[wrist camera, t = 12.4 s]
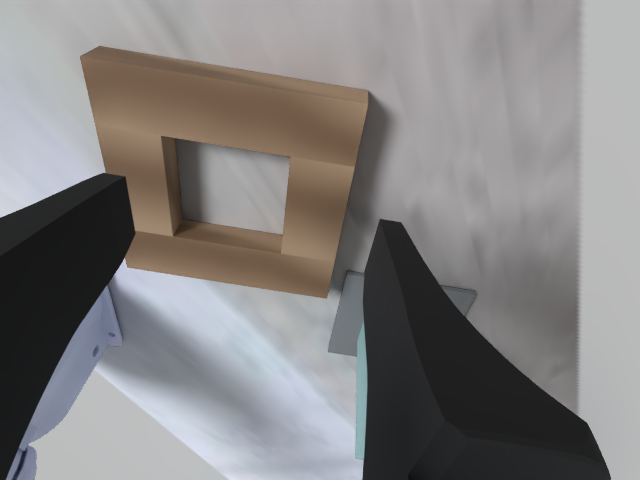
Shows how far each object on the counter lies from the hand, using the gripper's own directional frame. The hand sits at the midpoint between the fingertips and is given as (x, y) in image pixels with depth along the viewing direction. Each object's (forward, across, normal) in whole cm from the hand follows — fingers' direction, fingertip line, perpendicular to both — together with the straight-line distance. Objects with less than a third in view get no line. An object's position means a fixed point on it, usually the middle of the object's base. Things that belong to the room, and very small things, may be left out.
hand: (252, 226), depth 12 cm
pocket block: (+9, +3, +5) cm, 11 cm away
